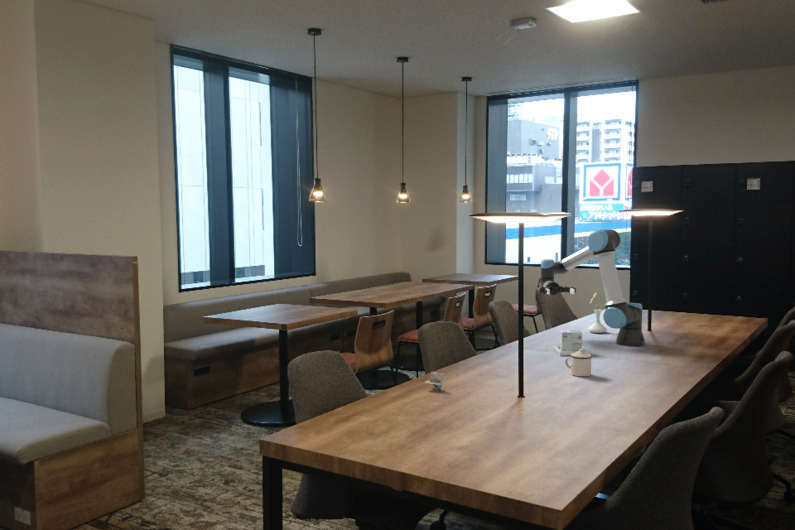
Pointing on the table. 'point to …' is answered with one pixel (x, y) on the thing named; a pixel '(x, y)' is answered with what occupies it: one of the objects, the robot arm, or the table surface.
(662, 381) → the table surface
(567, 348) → the light bulb box
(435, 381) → the architectural model
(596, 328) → the flower in vase
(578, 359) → the teacup with lid
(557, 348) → the tray
